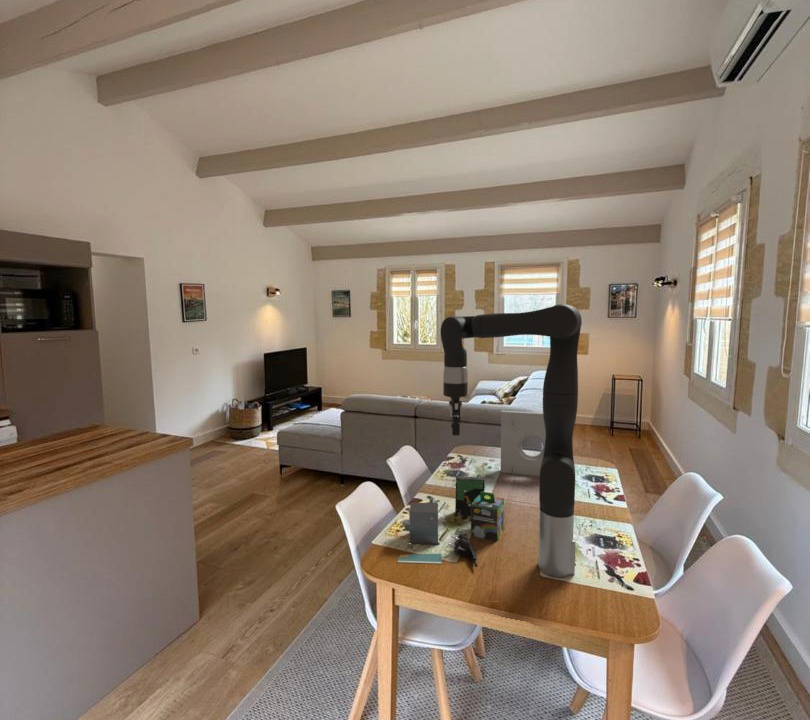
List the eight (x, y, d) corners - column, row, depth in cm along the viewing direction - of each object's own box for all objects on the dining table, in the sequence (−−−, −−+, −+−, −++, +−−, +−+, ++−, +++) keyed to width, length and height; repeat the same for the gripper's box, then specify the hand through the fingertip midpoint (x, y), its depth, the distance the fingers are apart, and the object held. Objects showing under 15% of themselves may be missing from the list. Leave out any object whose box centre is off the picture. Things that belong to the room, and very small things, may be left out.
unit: (439, 534, 146) (439, 502, 145) (439, 546, 138) (439, 513, 137) (409, 533, 147) (409, 501, 146) (408, 545, 139) (407, 512, 138)
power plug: (483, 558, 124) (474, 537, 136) (459, 548, 124) (452, 527, 136) (474, 575, 125) (465, 553, 137) (450, 565, 124) (444, 543, 136)
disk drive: (484, 516, 158) (484, 477, 157) (484, 520, 156) (484, 480, 154) (455, 514, 160) (455, 475, 159) (455, 517, 158) (455, 478, 156)
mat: (441, 548, 137) (441, 547, 137) (441, 564, 128) (441, 563, 128) (399, 547, 138) (399, 546, 138) (397, 563, 129) (397, 561, 129)
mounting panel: (500, 479, 195) (500, 412, 192) (500, 475, 200) (501, 410, 197) (563, 485, 187) (565, 416, 184) (563, 480, 192) (565, 413, 189)
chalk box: (504, 531, 148) (505, 488, 146) (497, 543, 140) (498, 499, 138) (478, 525, 152) (478, 484, 150) (469, 537, 144) (470, 494, 142)
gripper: (469, 384, 129) (469, 437, 131) (466, 377, 143) (465, 426, 145) (443, 384, 130) (443, 437, 131) (443, 377, 144) (443, 425, 145)
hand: (455, 431), depth 138 cm, fingers open, 8 cm apart
